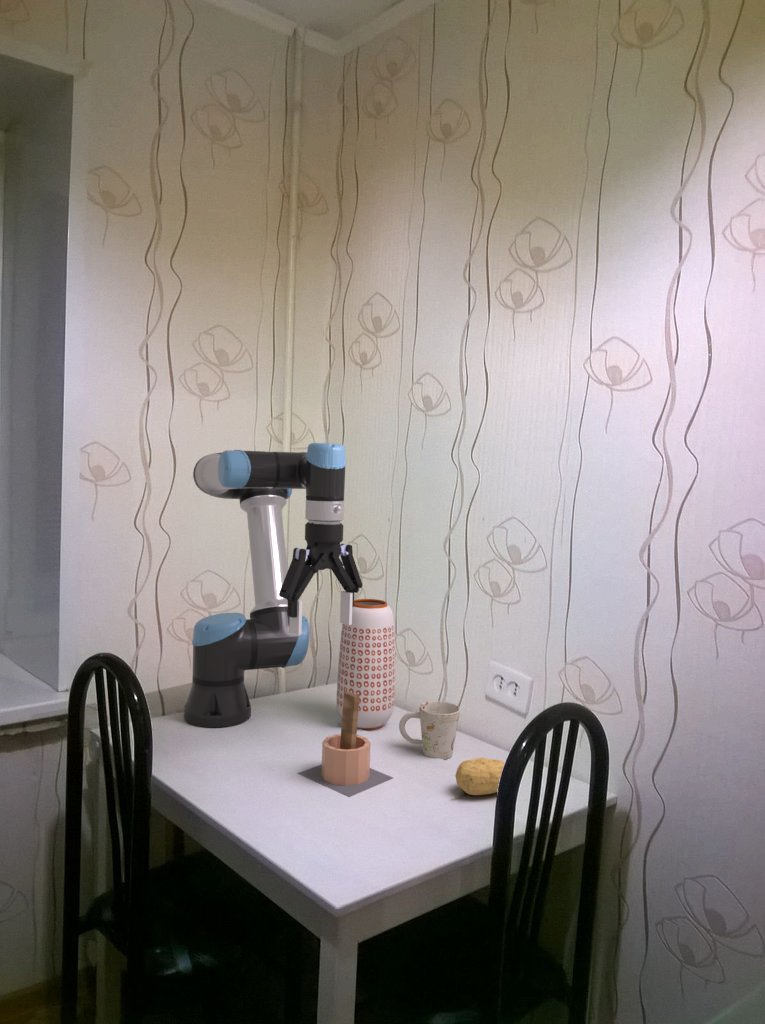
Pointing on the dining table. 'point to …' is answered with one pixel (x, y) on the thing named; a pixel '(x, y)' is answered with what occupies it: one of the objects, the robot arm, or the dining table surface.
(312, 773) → the mat
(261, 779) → the dining table surface
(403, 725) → the mug
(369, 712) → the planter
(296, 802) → the dining table surface
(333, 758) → the jar
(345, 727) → the long wooden stick
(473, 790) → the potato
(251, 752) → the dining table surface
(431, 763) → the dining table surface
